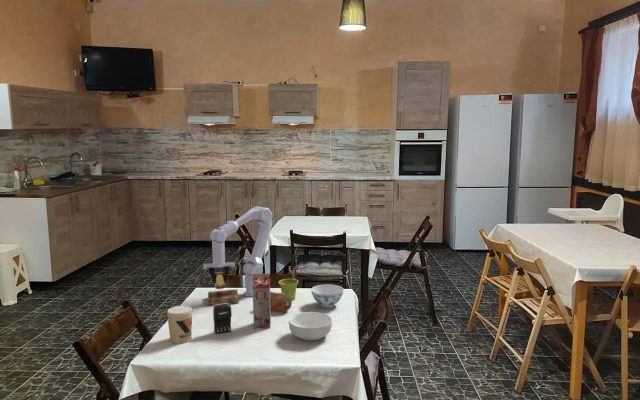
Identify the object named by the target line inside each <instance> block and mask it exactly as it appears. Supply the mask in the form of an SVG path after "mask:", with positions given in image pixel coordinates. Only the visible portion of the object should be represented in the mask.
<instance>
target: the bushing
mask: <svg viewBox="0 0 640 400" xmlns="http://www.w3.org/2000/svg"><path fill="white" fill-rule="evenodd" d="M224 275H225V274H224V271H219V272H218V271H217V272H214V276H215V284H214V287H215V290H223V289H225V286H226V283H225V282H224Z"/></svg>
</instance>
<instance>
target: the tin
mask: <svg viewBox="0 0 640 400" xmlns="http://www.w3.org/2000/svg"><path fill="white" fill-rule="evenodd" d="M292 305H293V300H291V298H290V296H289V295H288V294H286V293H282V292H277V291H270V308H271V312H278V313H286V312H288V310H290V309H291V308H292Z"/></svg>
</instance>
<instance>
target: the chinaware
mask: <svg viewBox="0 0 640 400" xmlns="http://www.w3.org/2000/svg"><path fill="white" fill-rule="evenodd" d="M310 289H311V290H310V291H311V295H312V297H313V299H314V301H315V302H317V303H318V304H319V305H320V307H322V308H324V309H325V308H326V309H330V308H335V305H336V304H338V302H340V300H341V299H342V297H343V294H344V290H345V289H344V288H343V287H342V286H340V285H336V284H330V283H329V284H318V285H314V286H312V288H310Z"/></svg>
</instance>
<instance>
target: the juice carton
mask: <svg viewBox="0 0 640 400" xmlns="http://www.w3.org/2000/svg"><path fill="white" fill-rule="evenodd" d="M252 285H253V296H252V303H253V304H252V308H253V310H252V311H253V314H252V315H253V330H257V329H258V330H259V329H261V330H262V329H271V324H272V321H271V320H272V314H271V313H272V311H271V308H270V292H271V278H270V273H262V274H253V284H252Z"/></svg>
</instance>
